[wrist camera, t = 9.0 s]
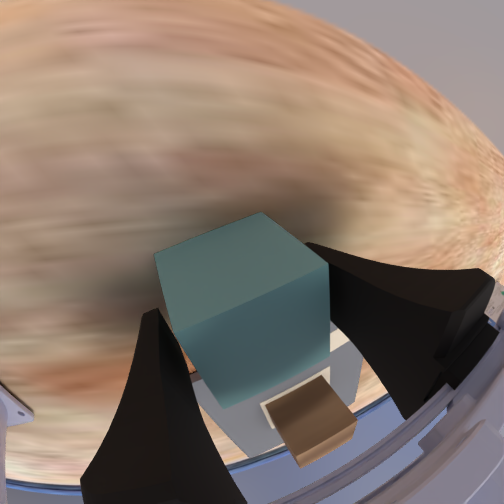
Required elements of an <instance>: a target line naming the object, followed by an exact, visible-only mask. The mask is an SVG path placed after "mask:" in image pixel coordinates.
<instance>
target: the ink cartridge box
mask: <svg viewBox="0 0 504 504" xmlns="http://www.w3.org/2000/svg"><path fill="white" fill-rule="evenodd" d="M503 308H504V286H503V285H501V284H500V283H499V282H496V283H495V287H494V290H493V293H492V296H491V298H490V301H489V303H488V305H487V308H486V310H485V312H484V313H485V314H486V315H487V316H489V321H488V323H489V324H490V325H491V326H493V327H494V326H495V324H496V322H497V320H498V317H499V315H500V314H501V312H502V310H503Z"/></svg>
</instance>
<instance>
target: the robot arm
mask: <svg viewBox="0 0 504 504" xmlns="http://www.w3.org/2000/svg"><path fill="white" fill-rule="evenodd" d="M304 245H305V246H307V247H308V248H309V249H311V250H312V251H313V252H314V253H316V254H317V255H318V256H319V257H321V258H322V259H323V260H324V261H326V262H327V263H328V267H329V292H330V321H331V322H332V323H333V324H334V325H335V326H336V327H337V328H338V329H339V330H340V331H341V332H342V333H343V334H344V335H345V336H346V337H347V338H348V339H349V340H350V341H351V342H352V343H353V344H354V345H355V347H356V348H357V349H358V351H359V352H360V353H361V354H362V356H363V357H364V358H365V360H366V361H367V362H368V364H369V365H370V366H371V368H372V369H373V370H374V372H375V373H376V375H377V376H378V378H379V379H380V381H381V382H382V384H383V385H384V387H385V388H386V390H387V391H388V393H389V394H390V396H391V398H392V399H393V401H394V402H395V404H396V406H397V407H398V409H399V411H400V413H401V415H402V417H403V418H404V419H405V420H406V421H405V422H404V423H402V424H401V425H400V426H399V427H398V428H396V429H395V430H394V431H392V432H391V433H390V434H389V435H387V436H386V437H385V438H383V439H382V440H381V441H379V442H378V443H377V444H375V445H374V446H372V447H371V448H369V449H368V450H367V451H365V452H364V453H362V454H361V455H359V456H358V457H356V458H355V459H353V460H352V461H350V462H349V463H347V464H345V465H344V466H342V467H340V468H339V469H337V470H335V471H333V472H332V473H330V474H328V475H327V476H325V477H323V478H321V479H319V480H317V481H316V482H314V483H312V484H310V485H308V486H306V487H304V488H302V489H300V490H298V491H296V492H294V493H292V494H289V495H287V496H285V497H283V498H281V499H278V500H276V501H273V502H271V503H269V504H315V503H318V502H319V501H321V500H323V499H325V498H327V497H329V496H331V495H332V494H334V493H336V492H338V491H339V490H341V489H343V488H345V487H346V486H348V485H349V484H351V483H353V482H354V481H356V480H357V479H359V478H361V477H362V476H363V475H365V474H367V473H368V472H370V471H371V470H372V469H374V468H375V467H377V466H378V465H380V464H381V463H382V462H384V461H385V460H386V459H388V458H389V457H390V456H392V455H393V454H394V453H396V452H397V451H398V450H399V449H401V448H402V447H403V446H404V445H406V443H408V442H409V441H410V440H411V439H413V438H414V437H415V436H416V435H417V434H418V433H420V432H421V431H422V430H423V429H424V428H425V427H426V426H427V425H428V424H429V423H431V421H433V420H434V419H435V418H436V417H437V416H438V415H439V414H440V413H441V412H442V411H443V410H444V409H445V407H447V414H446V415H445V416H444V417H443V418H442V419H441V420H440V421H439V422H438V423H437V424H436V425H435V426H434V427H433V428H432V430H431V431H430V432H429V433H428V434H427V435H426V436H425V437H424V438H422V439H421V440H420V441H419V443H418V445H419V446H420V447H421V448H422V449H423V451H424V452H423V453H422V454H421V455H420V456H419V457H418V458H417V459H415V460H414V461H413V462H412V463H411V464H409V465H408V466H407V467H405V469H403V470H402V471H400V472H399V473H398V474H396V475H395V476H394V477H392V478H391V479H390V480H388V481H387V482H386V483H384V484H383V485H381V486H380V487H379V488H377V489H375V490H374V491H373V492H371V493H370V494H368V495H366V496H365V497H363V498H362V499H360V500H359V501H357V502H355V503H354V504H504V437H503V436H502V435H501V434H500V431H501V430H502V428H503V426H504V308H503V310H502V312H501V314H500V315H499V317H498V320H497V322H496V324H495V326H494V327H493V326H491V325H490V324H489V323H488V321H489V316H487V315H486V314H485V313H484V312H485V310H486V308H487V305H488V303H489V301H490V298H491V296H492V293H493V290H494V287H495V279H494V278H493V277H491V276H490V275H488V274H487V273H486V272H484V271H483V270H481V269H479V268H474V269H461V270H429V269H418V268H409V267H402V266H396V265H390V264H385V263H380V262H376V261H372V260H368V259H364V258H361V257H357V256H354V255H350V254H347V253H344V252H341V251H337V250H334V249H331V248H328V247H325V246H321V245H318V244H314V243H310V242H308V243H305V244H304ZM32 421H34V414H33V413H32V412H31V411H30V410H29V409H27V408H26V407H25V406H24V405H22V404H21V403H20V402H19V401H18V400H17V399H15V398H14V397H13V396H12V395H11V394H10V393H9V392H7V391H6V390H5V389H4V388H3V387H2V386H1V385H0V504H7V496H6V479H5V449H6V431H7V427H9V426H14V425H19V424H23V423H28V422H32ZM80 484H81V491H82V496H83V501H84V504H247V501H246V500H245V498H244V497H243V495H242V494H241V492H240V490H239V489H238V487H237V485H236V484H235V482H234V480H233V479H232V477H231V475H230V473H229V472H228V470H227V468H226V466H225V464H224V462H223V461H222V459H221V457H220V455H219V453H218V451H217V449H216V447H215V445H214V443H213V441H212V438H211V436H210V434H209V432H208V430H207V428H206V425H205V423H204V421H203V418H202V415H201V412H200V409H199V406H198V403H197V399H196V396H195V392H194V389H193V385H192V382H191V378H190V374H189V371H188V367H187V364H186V361H185V359H184V356H183V353H182V351H181V348H180V345H179V343H178V341H177V339H176V338H175V336H174V335H173V333H172V331H171V330H170V328H169V326H168V325H167V323H166V321H165V319H164V318H163V316H162V314H161V313H160V311H159V309H158V308H156V309H153V310H151V311H149V312H146V313H144V314H143V316H142V320H141V325H140V330H139V335H138V340H137V344H136V349H135V353H134V357H133V361H132V365H131V369H130V372H129V376H128V380H127V383H126V386H125V389H124V392H123V395H122V398H121V401H120V404H119V406H118V409H117V411H116V414H115V416H114V419H113V421H112V423H111V426H110V428H109V430H108V432H107V434H106V436H105V438H104V440H103V442H102V444H101V446H100V448H99V449H98V451H97V453H96V455H95V456H94V458H93V460H92V461H91V463H90V464H89V466H88V468H87V469H86V471H85V472H84V474H83V475H82V477H81V478H80Z"/></svg>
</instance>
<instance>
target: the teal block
mask: <svg viewBox="0 0 504 504" xmlns="http://www.w3.org/2000/svg"><path fill="white" fill-rule="evenodd" d="M154 257H155V262H156V266H157V271H158V275H159V279H160V283H161V288H162V292H163V295H164V299H165V303H166V307H167V311H168V314H169V318H170V322H171V325H172V329H173V332H174V334H175V336H176V338H177V339H178V341H179V343H180V344H181V346H182V348H183V349H184V351H185V353H186V354H187V356H188V358H189V359H190V361H191V362H192V364H193V365H194V367H195V369H196V370H197V372H198V373H199V375H200V376H201V378H202V379H203V381H204V382H205V384H206V385H207V387H208V388H209V390H210V391H211V393H212V394H213V396H214V397H215V398H216V400H217V401H218V403H219V404H220V406H221V407H222V408H223V410H224V409H226V408H228V407H231V406H233V405H235V404H238V403H240V402H242V401H244V400H247V399H249V398H251V397H253V396H255V395H257V394H260V393H262V392H264V391H266V390H268V389H270V388H272V387H274V386H276V385H278V384H280V383H282V382H284V381H286V380H288V379H290V378H292V377H294V376H295V375H297V374H299V373H301V372H303V371H305V370H307V369H308V368H310V367H312V366H314V365H316V364H317V363H319V362H321V361H323V360H324V359H326V358H328V357H329V356H330V292H329V267H328V263H327V262H326V261H324V260H323V259H322V258H321V257H319V256H318V255H317V254H316V253H314V252H313V251H312V250H311V249H309V248H308V247H307V246H305V245H304V244H303V243H302V242H300V241H299V240H298V239H296V238H295V237H294V236H293V235H291V234H290V233H289V232H287V231H286V230H285V229H283V228H282V227H281V226H280V225H278V224H277V223H276V222H274V221H273V220H272V219H270V218H269V217H268V216H266V215H265V214H264V213H262V212H259V213H256V214H254V215H251V216H248V217H246V218H243V219H240V220H238V221H235V222H233V223H230V224H227V225H225V226H222V227H220V228H217V229H215V230H212V231H209V232H207V233H204V234H202V235H199V236H197V237H194V238H192V239H189V240H187V241H184V242H182V243H179V244H177V245H174V246H172V247H170V248H167V249H165V250H162V251H160V252H157V253H155V254H154Z"/></svg>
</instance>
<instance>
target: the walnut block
mask: <svg viewBox="0 0 504 504" xmlns="http://www.w3.org/2000/svg"><path fill="white" fill-rule="evenodd" d="M265 407H266V409H267V411H268V413H269V416H270V418H271V420H272V422H273V424H274V426H275V428H276V430H277V431H278V433H279V435H280V436H281V438H282V440H283V441H284V443H285V445H286V446H287V448H288V450H289V451H290V453H291V454H292V456H293V457H294V459H295V461H296V462H297V464H298V465H299V467H300V468H302V467H304V466H306V465H308V464H310V463H312V462H314V461H316V460H317V459H319V458H321V457H323V456H324V455H326V454H328V453H330V452H331V451H333V450H335V449H336V448H338V447H340V446H341V445H343V444H344V443H346V442H348V441H349V440H351V439H352V436H353V433H354V430H355V427H356V424H357V421H358V420H357V418H356V417H355V416H354V415H353V413H352V412H351V411H350V410H349V409H348V407H347V406H346V405H345V404H344V402H343V401H342V400H341V399H340V397H339V396H338V395H337V394H336V392H335V391H334V390H333V388H332V387H331V386H330V385H329V383H328V382H327V381H326V380H325V378H324V377H323V376H322V375H320V376H318V377H317V378H315V379H313V380H311V381H310V382H308V383H306V384H304V385H302V386H301V387H299V388H297V389H295V390H293V391H291V392H289V393H288V394H286V395H284V396H282V397H280V398H278V399H276V400H274V401H272V402H270V403H268V404H266V405H265Z"/></svg>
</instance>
